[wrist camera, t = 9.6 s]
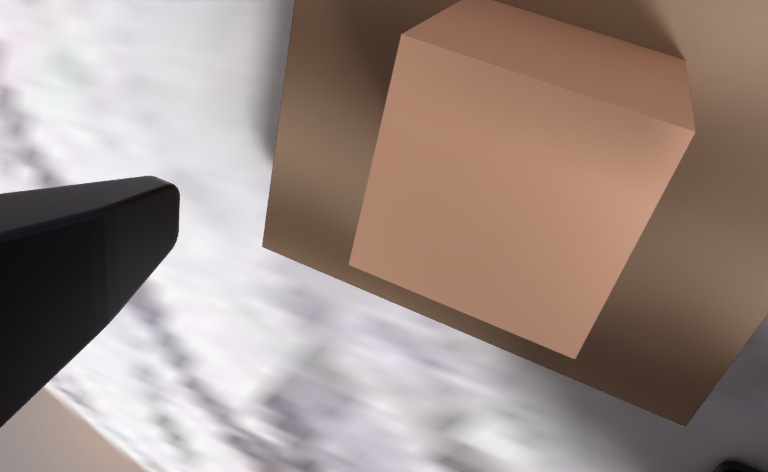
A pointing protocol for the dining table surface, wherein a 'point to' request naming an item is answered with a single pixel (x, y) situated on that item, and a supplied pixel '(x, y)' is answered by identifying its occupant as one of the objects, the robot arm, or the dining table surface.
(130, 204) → the robot arm
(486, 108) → the terracotta block
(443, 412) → the dining table surface
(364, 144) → the walnut base
